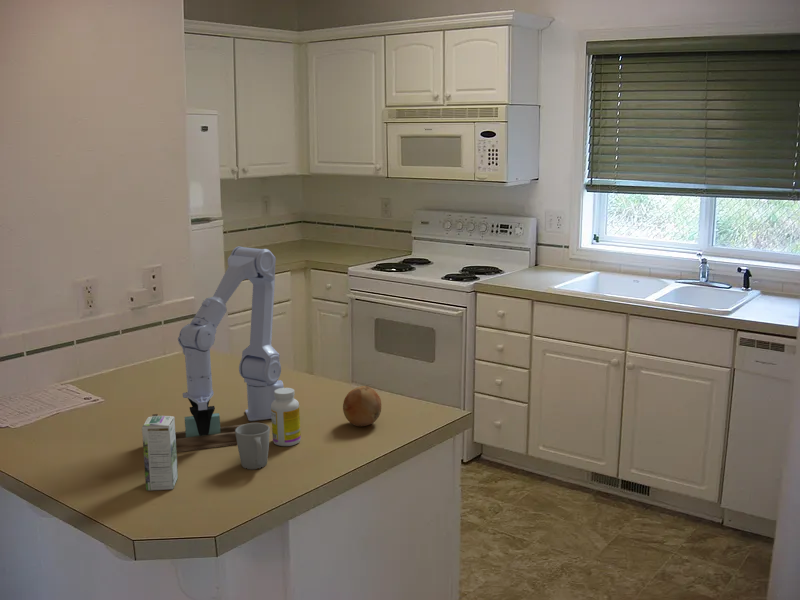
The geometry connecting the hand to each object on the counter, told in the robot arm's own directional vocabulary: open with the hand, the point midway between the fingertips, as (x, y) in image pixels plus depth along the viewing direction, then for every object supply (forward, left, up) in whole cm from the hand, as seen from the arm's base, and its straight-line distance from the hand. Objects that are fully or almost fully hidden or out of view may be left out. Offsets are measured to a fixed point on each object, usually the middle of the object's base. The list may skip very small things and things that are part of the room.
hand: (202, 429), depth 200 cm
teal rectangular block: (0, 0, -3) cm, 3 cm away
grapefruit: (-39, +1, -4) cm, 39 cm away
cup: (-10, +18, -4) cm, 21 cm away
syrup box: (+10, +21, -4) cm, 24 cm away
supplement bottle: (-19, +6, -4) cm, 20 cm away
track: (0, 0, -3) cm, 3 cm away
